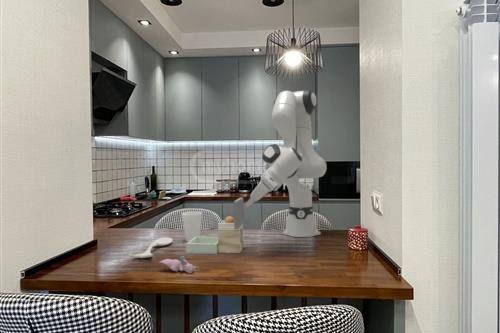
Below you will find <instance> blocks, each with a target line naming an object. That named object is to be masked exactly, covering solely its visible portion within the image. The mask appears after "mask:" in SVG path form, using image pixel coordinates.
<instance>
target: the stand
mask: <svg viewBox="0 0 500 333" xmlns="http://www.w3.org/2000/svg"><path fill="white" fill-rule="evenodd" d="M217 237H218V253H220V254H221V253H222V254H241V253H242V251H243V249H244V226H243V227H242V228H241V229H240V230H218V231H217ZM218 253H217V254H218Z"/></svg>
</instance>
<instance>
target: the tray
mask: <svg viewBox="0 0 500 333" xmlns="http://www.w3.org/2000/svg"><path fill="white" fill-rule="evenodd" d="M185 254H187V255H188V254H197V255H199V254H200V255H201V254H204V255H217V254H218V236H200V237H194V238H193V239H192V240H190V241H187V242H186V243H185Z"/></svg>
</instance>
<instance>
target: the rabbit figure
mask: <svg viewBox="0 0 500 333" xmlns="http://www.w3.org/2000/svg"><path fill="white" fill-rule="evenodd" d="M158 263H159V264H163V265H165V266H167V267H168V268H170V270H171V271H174V272H176V273H177V272H182V271H183V272H186V273H187V274H189V275H191V274H192V273H194V274H196V273H197V272H200V267H199V266H197V265H193V264H191V263H189V262H188V261H187V260H186V258H185V256H184V255H182V256H180V260H179V259H177V258H176V259H171V258H166V259H163V260H161V261H159V262H158ZM182 263H184V264H185V265H182Z"/></svg>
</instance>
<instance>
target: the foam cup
mask: <svg viewBox="0 0 500 333" xmlns="http://www.w3.org/2000/svg"><path fill="white" fill-rule="evenodd" d="M181 216H182V217H181V219H182V223H183V229H184V235H185V236H184V237H185V240H186V242H189V241H190V240H192V239H193V238H194V237H201V236H200V235H201V225H202V218H203V213H202V212H201V211H187V212H182V214H181Z"/></svg>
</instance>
